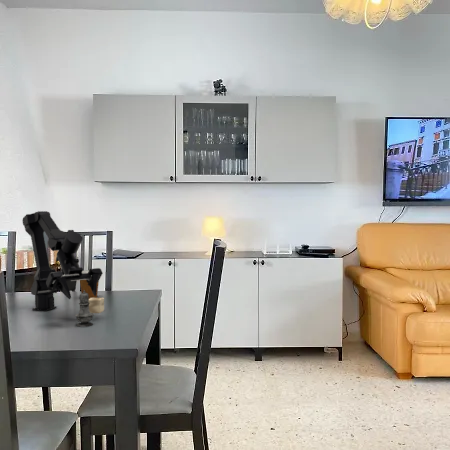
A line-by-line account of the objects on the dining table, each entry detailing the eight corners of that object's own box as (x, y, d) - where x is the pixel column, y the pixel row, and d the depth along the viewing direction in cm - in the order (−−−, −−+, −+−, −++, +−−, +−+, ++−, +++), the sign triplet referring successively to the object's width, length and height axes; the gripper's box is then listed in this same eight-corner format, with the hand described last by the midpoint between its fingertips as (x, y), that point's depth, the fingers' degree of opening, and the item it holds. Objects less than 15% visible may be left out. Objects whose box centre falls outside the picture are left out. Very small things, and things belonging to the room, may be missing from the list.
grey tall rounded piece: (88, 327, 154) (87, 291, 154) (72, 326, 155) (71, 291, 155) (96, 323, 160) (96, 288, 160) (81, 322, 161) (80, 288, 161)
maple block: (87, 313, 176) (86, 300, 176) (91, 310, 181) (91, 297, 181) (100, 313, 176) (99, 300, 175) (104, 310, 181) (103, 297, 180)
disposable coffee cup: (97, 300, 201) (96, 272, 200) (75, 300, 201) (75, 272, 200) (103, 296, 210) (102, 269, 210) (82, 296, 210) (82, 269, 210)
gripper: (85, 274, 176) (100, 307, 169) (36, 279, 164) (49, 314, 156) (95, 255, 171) (110, 288, 163) (45, 258, 158) (59, 294, 150)
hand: (83, 296), depth 158 cm, fingers open, 9 cm apart
